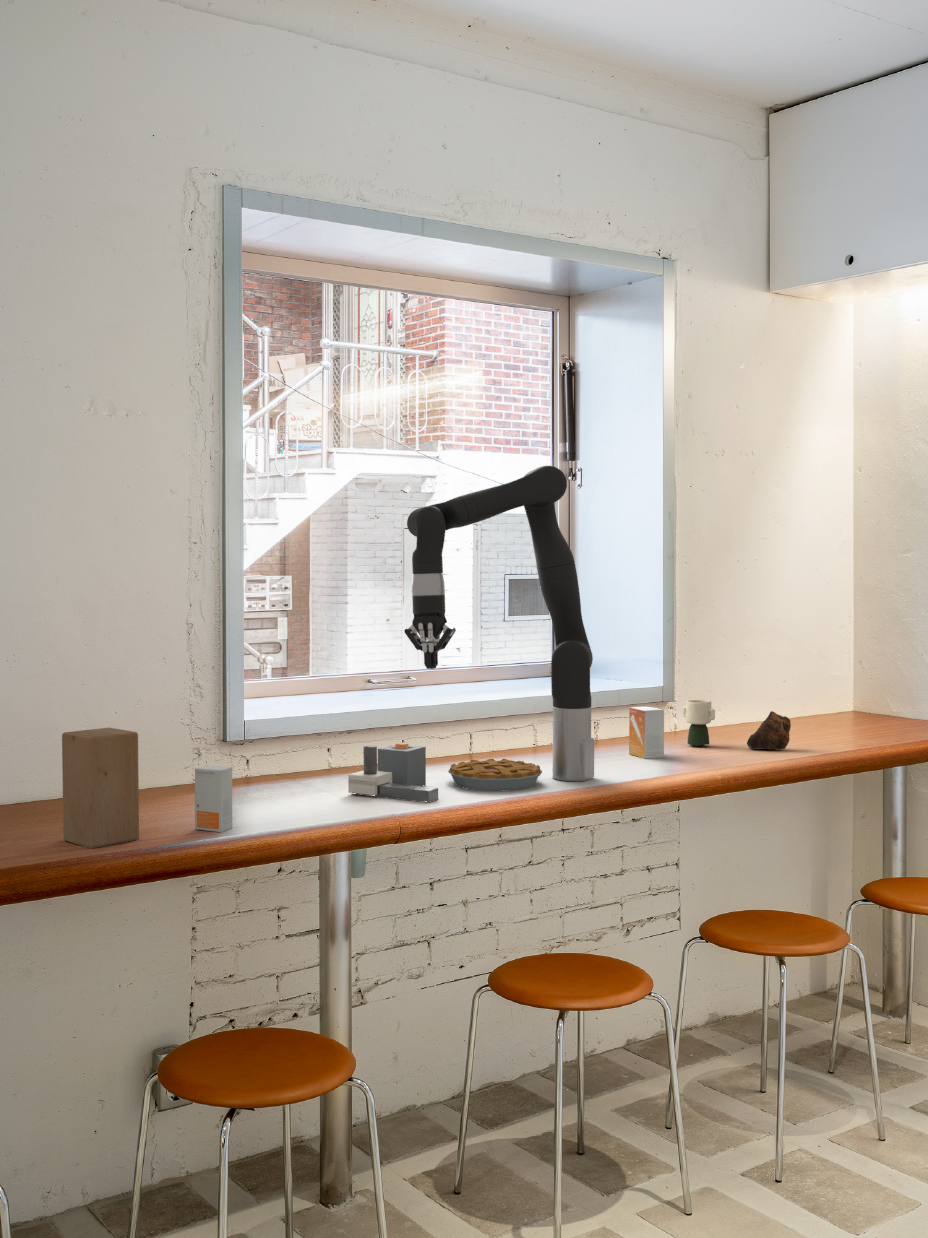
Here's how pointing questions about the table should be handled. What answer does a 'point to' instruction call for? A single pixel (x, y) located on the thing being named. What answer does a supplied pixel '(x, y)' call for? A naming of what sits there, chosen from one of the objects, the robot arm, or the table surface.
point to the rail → (407, 792)
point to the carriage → (368, 775)
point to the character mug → (698, 720)
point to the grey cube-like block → (404, 764)
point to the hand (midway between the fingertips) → (431, 668)
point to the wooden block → (100, 787)
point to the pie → (495, 775)
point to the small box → (646, 732)
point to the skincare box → (213, 798)
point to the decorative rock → (771, 733)
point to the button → (401, 746)
